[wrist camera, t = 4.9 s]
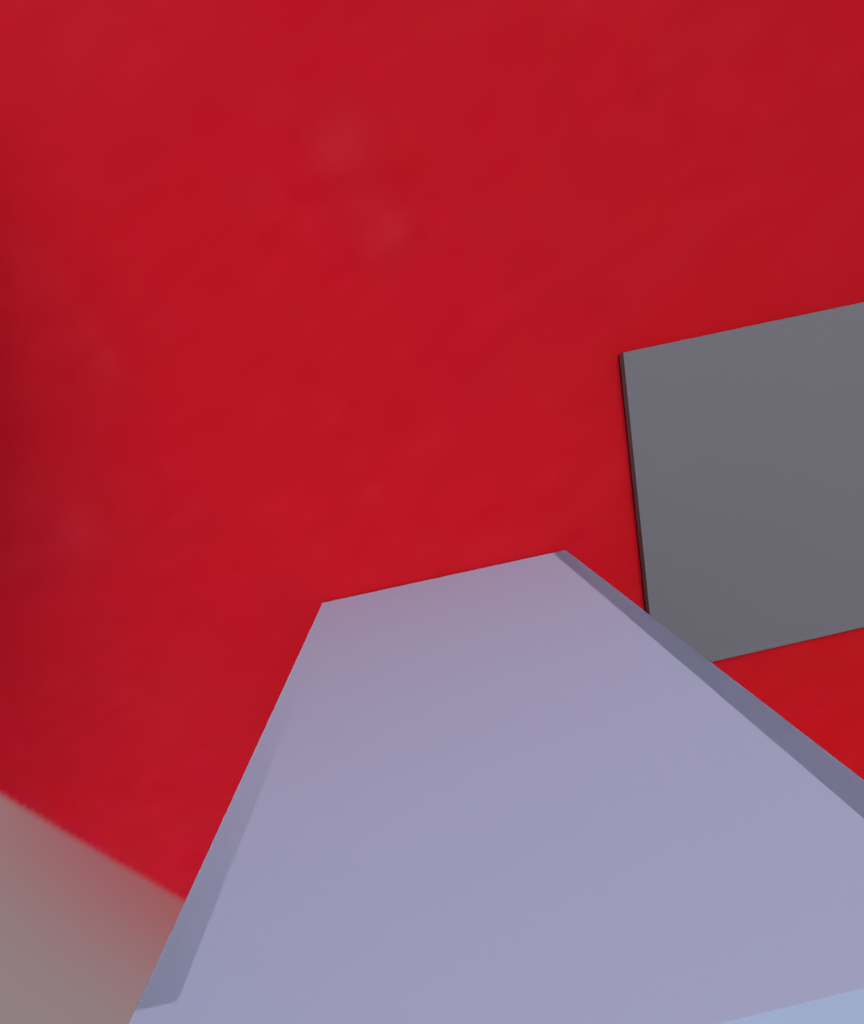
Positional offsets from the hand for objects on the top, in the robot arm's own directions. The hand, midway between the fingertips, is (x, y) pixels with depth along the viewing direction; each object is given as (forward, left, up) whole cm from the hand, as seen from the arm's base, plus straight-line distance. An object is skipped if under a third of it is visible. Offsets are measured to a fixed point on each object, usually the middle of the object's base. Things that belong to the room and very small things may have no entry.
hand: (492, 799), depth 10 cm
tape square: (-5, +10, -2) cm, 11 cm away
